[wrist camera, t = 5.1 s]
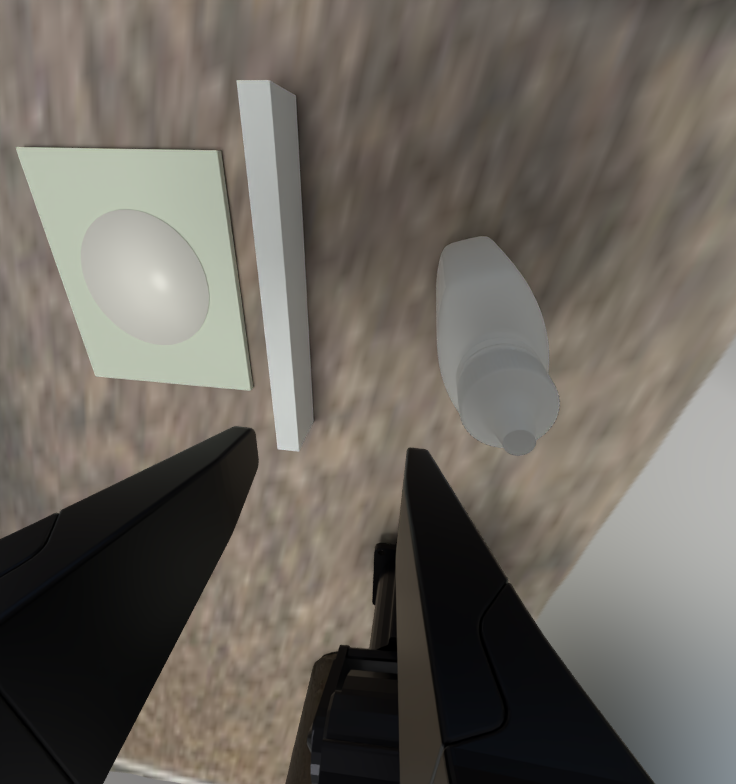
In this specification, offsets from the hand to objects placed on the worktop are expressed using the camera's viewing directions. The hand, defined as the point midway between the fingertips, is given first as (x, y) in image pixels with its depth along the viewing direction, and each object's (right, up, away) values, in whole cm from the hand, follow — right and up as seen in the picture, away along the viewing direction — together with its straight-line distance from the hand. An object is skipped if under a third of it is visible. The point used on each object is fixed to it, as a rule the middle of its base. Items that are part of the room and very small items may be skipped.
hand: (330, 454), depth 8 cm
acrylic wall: (-3, +7, +12) cm, 14 cm away
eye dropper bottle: (+6, +6, +11) cm, 14 cm away
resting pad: (-11, +7, +13) cm, 18 cm away
